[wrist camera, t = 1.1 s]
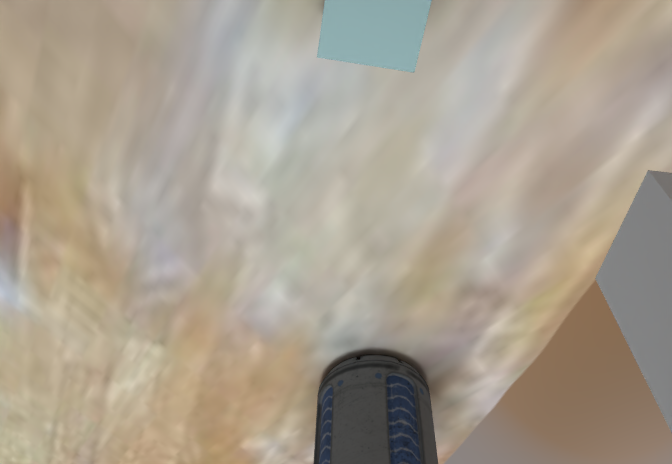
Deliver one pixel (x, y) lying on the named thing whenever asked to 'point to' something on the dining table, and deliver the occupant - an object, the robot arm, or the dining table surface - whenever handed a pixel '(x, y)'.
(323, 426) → the beverage bottle
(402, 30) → the pale blue rectangular block
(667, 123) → the dining table surface
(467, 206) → the dining table surface
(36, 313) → the dining table surface
